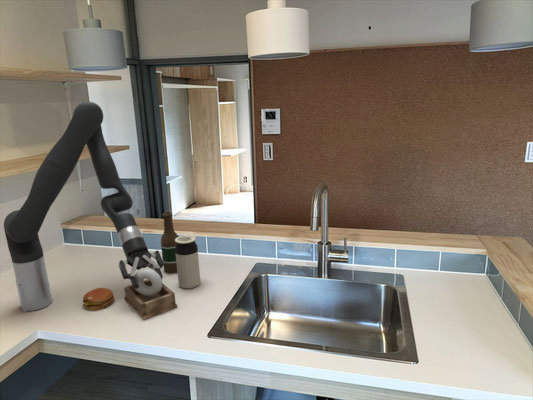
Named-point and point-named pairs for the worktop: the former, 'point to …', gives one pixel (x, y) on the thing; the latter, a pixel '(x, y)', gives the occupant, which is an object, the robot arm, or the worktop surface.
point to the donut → (151, 276)
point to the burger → (98, 299)
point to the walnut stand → (150, 301)
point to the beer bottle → (169, 245)
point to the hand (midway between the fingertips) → (149, 283)
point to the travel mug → (187, 261)
